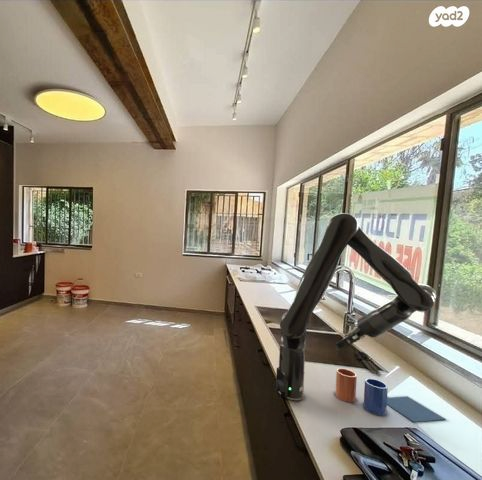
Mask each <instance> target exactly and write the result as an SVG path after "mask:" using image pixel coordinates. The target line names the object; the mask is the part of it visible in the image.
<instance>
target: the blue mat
mask: <svg viewBox="0 0 482 480" xmlns="http://www.w3.org/2000/svg"><path fill="white" fill-rule="evenodd" d="M387 407H390V408H391V409H393V410H394V411H396V412H398V413H399V414H400V415H402V416H403V417H405V418H406V419H408V420H409V421H411V422H412V423H423V422H424V423H425V422H436V421H446V418H445V417H443V416H441V415H439V414H438V413H436V412H435V411H433V410H432V409H429V408H428V407H426V406H424V405H423V404H421V403H419V402H417V401H416V400H414V399H412V398H411V397H409V396H394V397H387Z"/></svg>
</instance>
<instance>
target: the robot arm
mask: <svg viewBox="0 0 482 480" xmlns="http://www.w3.org/2000/svg"><path fill="white" fill-rule="evenodd" d="M347 246H349V247H350V248H351V249H352V250H353V251H354V252H356V253H357V254H358V256H360V257H361V259H363V260H364V261H365V262H366V264H367V265H368V266H369V267H370V268H371V269H372V270H373V271H374V272H375V273H376V274H377V275H378V276H379V277H380V278H381V279H382V280H384V281H385V282H386V283H387V284H388V285H389V286H390V287H391V289H392V290H393V291H394V293H395V294H396V296H395V297H394V298H392V299H391V300H389V301H387V302H386V303H384V304H382V305H381V306H379V307H377V308H375V309H372V310H371V311H369V312H368V313H366V314H364V315H362V316H361V317H359V318H358V319H357V325H356V326H355V327H354V328H352V329H351V331H350V332H348V333H346V334H345V335H344V337H343V338H342V339H341V340H338V341H337V342H336V343H335V345H336V347H337V348H338V349H340V350H341V349H343V348H344V347H350V346H351V345H352V344H354V343H357V342H358V341H361V340H362V339H364V338H365V337H366V336H368V337H369V338H377V337H379V336H381V335H383V334H384V333H386V332H389V331H390V330H393V328H394V327H396V326H397V325H399V324H402V323H403V322H405V321H407V320H408V319H409V318H410V317H411V316H412V315H413V314H414V313H416V312H422V313H423V312H429V311H431V310H432V309H433V308H434V307H435V304H436V300H437V293H436V290H435V289H434V288H433V287H432V286H430V285H427V284H423V283H419V284H418V282H416V280H414V278H413V275H412V273H411V272H410V271H409V269H407V268H406V267H405V266H404V265H403V264H402V263H401V262H399V261H398V260H397V258H395V257H394V256H392V254H390V253H388V252H387V251H386V250H385V249H383V248H382V247H381V246H380V245H378V244H377V243H375V242H374V241H373V240H372V239H371V238H370V237H369V236H368V235H367V234H366V233H365V232H364V231H363V229H361V226H360V225H359V221H358V220H357V218H356V217H355V216H354V215H353V214H351V213H347V212H341V213H337V214H335V215H333V216H332V217H331V218H330V219H329V220H328V221H327V225H326V229H325V232H324V235H323V238H322V239H321V243H320V245H319V247H318V248H317V250H316V252H315V253H314V254H313V255H312V257H311V259H310V261H309V262H308V264H307V266H306V268H305V270H304V271H303V274H302V276H301V278H300V281H299V283H298V285H297V289H296V292H295V295H294V299H293V301H292V303H291V305H290V306H289V308H288V309H287V311H285V312H284V313H283V314H282V316H281V319H280V321H279V328H280V339H279V340H280V341H279V357H278V362H279V363H278V367H276V377H275V393H276V395H277V396H278V397H279V398H281V397H282V399H284V400H290V401H296V402H297V401H299V402H300V401H302V400H303V399H304V398H305V397H304V396H305V395H304V392H305V391H304V390H305V368H306V367H305V366H306V365H305V363H306V345H307V328H308V324H309V321H310V319H311V316H312V315H313V312H314V310H315V309H316V308H317V306H318V304H319V303H320V302H321V300H322V298H323V297H324V295H325V293H326V291H327V290H328V288H329V286H330V284H331V282H332V280H333V278H334V275H335V274H336V271H337V268H338V266H339V262H340V259H341V257H342V254H343V252H344V251H345V249H346V248H347Z"/></svg>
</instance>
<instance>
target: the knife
mask: <svg viewBox="0 0 482 480" xmlns="http://www.w3.org/2000/svg"><path fill="white" fill-rule="evenodd" d="M354 355H355V357H356V360H358V361H361V362H362V363H363V364H364V365H365V367H366V368H367V370H369V371H370V372H373V373H375V374H376V375H380V374H381V372H380V370H378V368H377V367H376V366H375V365H374V364H373V358H370V356H369V355H368V354H367V353H366V352H364V351H361V350H354Z"/></svg>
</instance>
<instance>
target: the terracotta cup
mask: <svg viewBox="0 0 482 480" xmlns="http://www.w3.org/2000/svg"><path fill="white" fill-rule="evenodd" d="M335 372H336V373H335V392H334V393H335V396H336V397H337V398H338V399H339V400H341V401H344V402H348V403H355V402H356V398H357V397H356V396H357V378H358V377H357V375H358V374H357V373H356V372H355V371H353V370H351V369H348V368H343V367H341V368H339V367H338V368H336V370H335Z"/></svg>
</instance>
